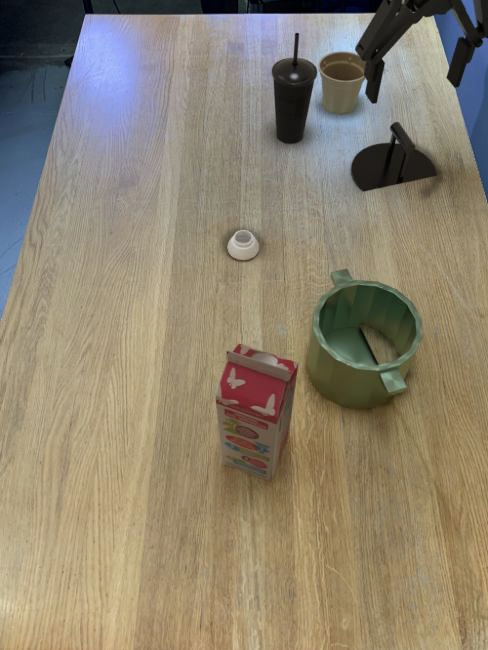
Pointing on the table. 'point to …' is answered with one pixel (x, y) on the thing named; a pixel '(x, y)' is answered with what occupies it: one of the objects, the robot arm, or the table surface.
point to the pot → (360, 342)
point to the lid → (391, 163)
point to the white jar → (243, 245)
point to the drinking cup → (292, 95)
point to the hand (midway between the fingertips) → (412, 90)
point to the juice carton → (255, 409)
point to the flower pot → (341, 80)
